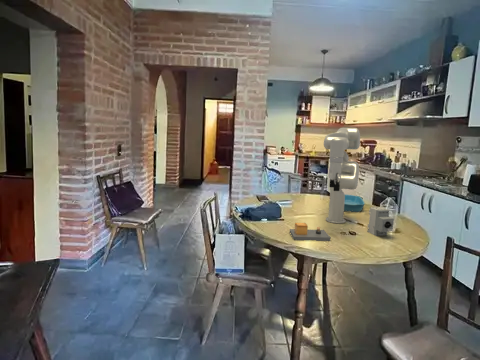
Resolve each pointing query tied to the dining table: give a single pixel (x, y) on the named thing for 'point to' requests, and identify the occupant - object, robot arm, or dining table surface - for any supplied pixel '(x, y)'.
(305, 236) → the plate
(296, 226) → the orange panelled cube
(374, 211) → the circuit breaker
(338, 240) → the dining table surface
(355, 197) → the casserole dish
